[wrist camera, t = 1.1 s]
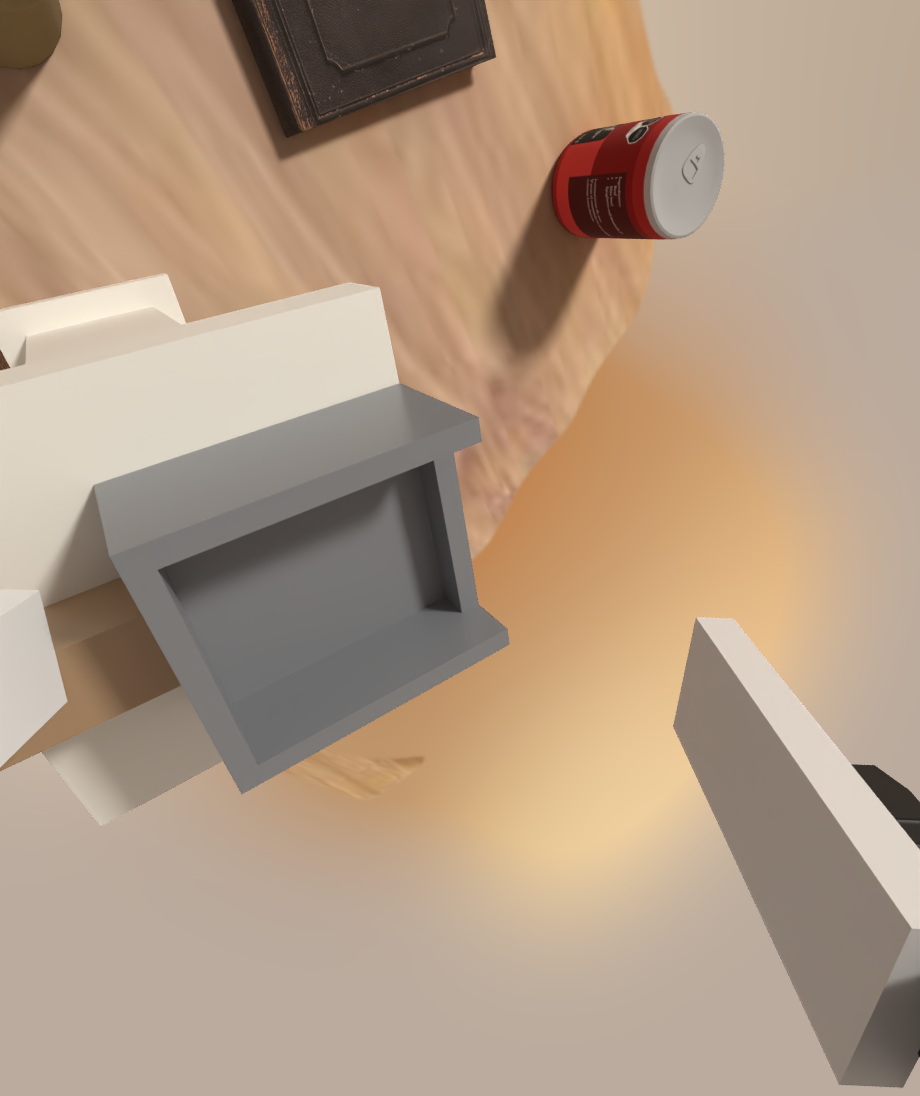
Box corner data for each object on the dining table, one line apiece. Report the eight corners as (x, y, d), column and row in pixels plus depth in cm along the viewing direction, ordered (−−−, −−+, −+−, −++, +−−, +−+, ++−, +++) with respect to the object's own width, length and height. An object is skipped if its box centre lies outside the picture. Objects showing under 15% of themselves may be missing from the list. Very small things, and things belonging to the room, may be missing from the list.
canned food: (629, 151, 53) (739, 137, 45) (599, 249, 55) (699, 253, 47) (566, 112, 48) (677, 89, 40) (538, 221, 51) (636, 220, 43)
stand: (61, 489, 40) (100, 826, 17) (-48, 298, 34) (-207, 441, 11) (238, 431, 45) (451, 637, 22) (173, 252, 38) (379, 287, 16)
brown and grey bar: (-476, 1030, 12) (-640, 1287, 9) (-958, 833, 9) (-1487, 1158, 6) (440, 583, 21) (509, 644, 18) (400, 383, 17) (478, 417, 14)
